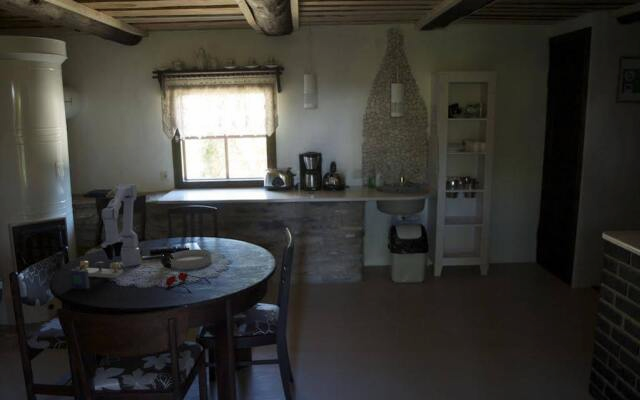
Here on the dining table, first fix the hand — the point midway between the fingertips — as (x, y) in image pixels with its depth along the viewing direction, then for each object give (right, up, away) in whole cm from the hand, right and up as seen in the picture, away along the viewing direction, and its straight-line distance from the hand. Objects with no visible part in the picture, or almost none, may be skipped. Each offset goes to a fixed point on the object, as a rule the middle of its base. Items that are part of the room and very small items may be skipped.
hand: (114, 257), depth 255 cm
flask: (-9, -13, -16) cm, 23 cm away
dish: (+34, -6, +21) cm, 40 cm away
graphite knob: (-9, -7, +3) cm, 11 cm away
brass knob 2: (0, -7, +1) cm, 7 cm away
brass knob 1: (-17, -6, +6) cm, 19 cm away
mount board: (-9, -9, +4) cm, 13 cm away
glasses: (+42, -12, -16) cm, 46 cm away
